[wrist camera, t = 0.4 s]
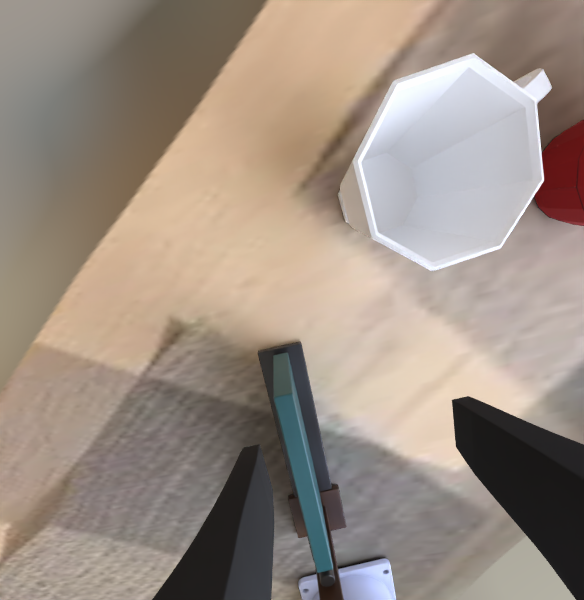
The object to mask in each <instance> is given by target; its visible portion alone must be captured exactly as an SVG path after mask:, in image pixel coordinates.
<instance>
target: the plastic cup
mask: <svg viewBox="0 0 584 600" xmlns="http://www.w3.org/2000/svg"><path fill="white" fill-rule="evenodd" d="M542 164H543V174H544V181H543V183H542V184H541V186H540V188H539V189H538V191H537V192H536V194H535V195H534V197H535V200H536V202H537V205H538V207H539V208H540V209H541V210H542V211H543V212H544V213H545V214H546V215H547V216H548V217H550V218H553V219H556V220H559V221H563V222H566V223H570V224H574V225H581V226H584V120H582V121H580V122H578V123H577V124H575V125H574V126H572V127H570V128H569V129H567V130H565V131H564V132H562V134H560V135H559V136H557V137H555V138H554V139H553V140H552V141H551V142H550V144H549V145H548V146H547V147H546V148H545V150H544V151H543V152H542Z"/></svg>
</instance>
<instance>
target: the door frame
mask: <svg viewBox="0 0 584 600" xmlns="http://www.w3.org/2000/svg"><path fill="white" fill-rule="evenodd" d="M282 353H288V355H289V360H290V364H291V369H292V373H293V378H294V382H295V386H296V391H297V395H298V400H299V404H300V408H301V413H302V417H303V422H304V426H305V431H306V435H307V439H308V444H309V448H310V453H311V457H312V461H313V466H314V470H315V475H316V479H317V484H318V488H319V492H320V497H321V503H322V508H323V514H324V519H325V525H326V530H327V536H328V541H329V547H330V552H331V558H332V563H333V569H332V570H328V571H324V572H320V573H318V572H317V570H316V575H317V582H318V590H319V598H320V600H344V597H343V592H342V586H341V581H340V576H339V571H338V566H337V561H336V556H335V551H334V546H333V540H332V535H331V531H332V530H336V529H341V528H345V527H346V522H345V517H344V512H343V508H342V503H341V498H340V493H339V488H338V485H333V486H331V481H330V476H329V472H328V467H327V462H326V458H325V453H324V448H323V443H322V439H321V434H320V429H319V425H318V420H317V415H316V410H315V406H314V401H313V396H312V392H311V387H310V382H309V377H308V373H307V368H306V363H305V358H304V354H303V349H302V344H301V342H296V343H292V344H287V345H282V346H278V347H273V348H269V349H264V350H260V351H258V356H259V360H260V364H261V368H262V372H263V376H264V379H265V383H266V387H267V391H268V395H269V399H270V403H271V407H272V411H273V415H274V419H275V423H276V427H277V431H278V434H279V438H280V442H281V446H282V450H283V454H284V458H285V462H286V466H287V470H288V474H289V478H290V482H291V486H292V490H293V493H294V495H289V496H288V500H289V504H290V508H291V511H292V515H293V519H294V523H295V527H296V530H297V534H298V538H302V537H306V536H307V532H306V529H305V525H304V521H303V517H302V513H301V509H300V505H299V501H298V496H297V490H296V486H295V482H294V478H293V474H292V470H291V466H290V462H289V458H288V454H287V450H286V446H285V442H284V438H283V434H282V430H281V426H280V422H279V418H278V414H277V410H276V406H275V402H274V389H273V356H274V355H278V354H282ZM315 567H316V566H315Z"/></svg>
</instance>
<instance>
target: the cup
mask: <svg viewBox="0 0 584 600" xmlns="http://www.w3.org/2000/svg"><path fill="white" fill-rule="evenodd" d="M551 89H552V86H551V84H550V82H549V80H548V78H547V76H546V74H545V72H544V70H543V69H540V68H538V69H536V70H534V71H532V72H530V73H528V74H526V75H525V76H523V77H521V78H519V79H517V80H516V81H514V82H513V81H511V80H510V79H508V78H507V77H506V76H504V75H503V74H501V73H500V72H499V71H497V70H496V69H495V68H493V67H492V66H490V65H489V64H488V63H486V62H485V61H483V60H482V59H481V58H479V57H478V56H477V55H475V54H474V53H472V54H470V55H467V56H464V57H461V58H458V59H455V60H452V61H449V62H446V63H443V64H440V65H437V66H434V67H432V68H429V69H426V70H423V71H420V72H417V73H414V74H411V75H408V76H405V77H402V78H399V79H396V80H394V81H393V82H392V84H391V86H390V88H389V90H388V92H387V94H386V96H385V98H384V100H383V102H382V104H381V106H380V108H379V110H378V111H377V113H376V115H375V117H374V119H373V121H372V123H371V125H370V127H369V129H368V131H367V133H366V135H365V137H364V139H363V141H362V143H361V145H360V147H359V149H358V151H357V153H356V155H355V157H354V159H353V161H352V163H351V165H350V167H349V169H348V171H347V172H346V174H345V176H344V178H343V180H342V182H341V184H340V191H339V193H338V198H339V201H340V205H341V209H342V212H343V216H344V220H345V222H347V223H348V224H350V226H351V228H353V229H355V230H357V231H359V232H360V233H362V234H364V235H366V236H368V237H370V238H371V239H373V240H375V241H377V242H379V243H381V244H382V245H384V246H386V247H388V248H390V249H392V250H394V251H395V252H397V253H399V254H401V255H403V256H405V257H406V258H408V259H410V260H412V261H414V262H416V263H417V264H419V265H421V266H423V267H425V268H427V269H429V270H431V271H435V270H438V269H441V268H444V267H447V266H450V265H453V264H456V263H459V262H462V261H465V260H468V259H471V258H474V257H477V256H480V255H483V254H486V253H489V252H492V251H495V250H498V249H500V248H501V247H502V245H503V244H504V242H505V241H506V239H507V238H508V236H509V234H510V233H511V231H512V230H513V228H514V227H515V225H516V224H517V222H518V220H519V219H520V217H521V216H522V214H523V213H524V211H525V209H526V208H527V206H528V205H529V203H530V202H531V200H532V199H533V197H534V195H535V194H536V192H537V191H538V189H539V188H540V186H541V184H542V183H543V181H544V174H543V164H542V153H541V143H540V132H539V122H538V111H537V103H538V102H539V101H540V100H541V99H542V98H544V97H545V96H546V94H547V93H548V92H549V91H550V90H551Z"/></svg>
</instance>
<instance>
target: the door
mask: <svg viewBox="0 0 584 600" xmlns="http://www.w3.org/2000/svg"><path fill="white" fill-rule="evenodd" d="M273 389H274V402H275V406H276V410H277V414H278V418H279V422H280V426H281V430H282V434H283V438H284V442H285V446H286V450H287V454H288V458H289V462H290V466H291V470H292V474H293V478H294V482H295V486H296V490H297V496H298V501H299V505H300V509H301V513H302V517H303V521H304V525H305V529H306V532H307V536H308V540H309V544H310V548H311V552H312V556H313V560H314V562H315V566H316V570H317V572H318V573H320V572H324V571H328V570H332V569H333V563H332V558H331V552H330V547H329V541H328V536H327V530H326V525H325V519H324V514H323V508H322V503H321V497H320V492H319V488H318V484H317V479H316V475H315V470H314V466H313V461H312V457H311V453H310V448H309V444H308V439H307V435H306V431H305V426H304V422H303V417H302V413H301V408H300V404H299V400H298V395H297V391H296V386H295V382H294V378H293V373H292V369H291V364H290V360H289V355H288V353H282V354H278V355H274V356H273Z"/></svg>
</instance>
